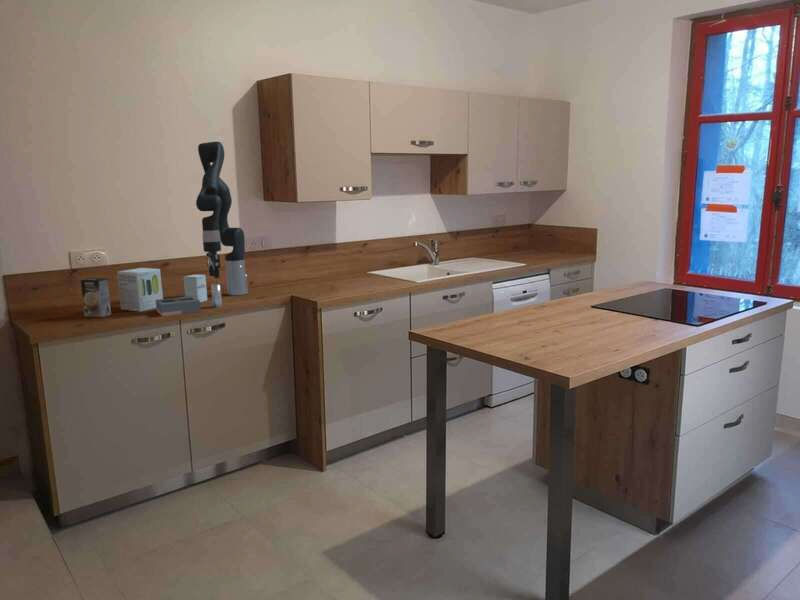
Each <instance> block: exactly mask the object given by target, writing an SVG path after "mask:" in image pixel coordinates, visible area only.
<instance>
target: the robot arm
mask: <svg viewBox="0 0 800 600" xmlns="http://www.w3.org/2000/svg"><path fill="white" fill-rule="evenodd" d="M197 147H198V148H197V151H198V157H199V158H200V159H199V160H200V163H201V166H202V169H203V173H204V174H203V177H202V180H201V181H202V182H201V189H200V191H199V193H198V195H197V197H196V200H195V201H196V202H195V205H196V208H197V209H198V210H199V211H200V212H212V214H211V215H209V216H208V215H207V216H205V217H202V219H201V224H202V225H201V226H202V227H201V228H202V246H203V252H205V253H206V266H207V267H208V273H209V277H213V278H215V279H219V278H220V269H221V260H220V259H221V258H220V254H218V252H220V251H222V246H224V247H232V251H230V252H229V253H226V254H225V255H224V260H225V276H226V285H227V295H228V296H241V295H242V296H243V295H247V294H249V290H248V277H247V276H248V275H247V274H246V265H245V254H246V246H245V242H246V241H245V232H244V230H243V229H242V228H241V227H230V226H229V221H228V215H229V212H230V210H231V206H232V202H233V200H232V195H231V190H230V188H229V186H228V184H227V183H226V182H225V181H224V180H223V179H222V178H221V177H220V176H221V175H220V174H221V172H222V168H223V164H224V160H225V149H224V146H223V144H222V142H220V141H210V142H202V143H199V144H198V146H197ZM211 163H212V164H211Z"/></svg>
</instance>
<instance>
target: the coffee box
mask: <svg viewBox="0 0 800 600" xmlns="http://www.w3.org/2000/svg"><path fill="white" fill-rule="evenodd" d="M80 285H81V293H82V294H81V295H82V303H83V304H82V305H83V312H84V313H83V315H84V317H88V318H91V317H93V318H104V317H107V316H111V315H112V310H111V300H110V289H109V280H108V278H107V277H105V278H104V277H89V278H83V279H80Z"/></svg>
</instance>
